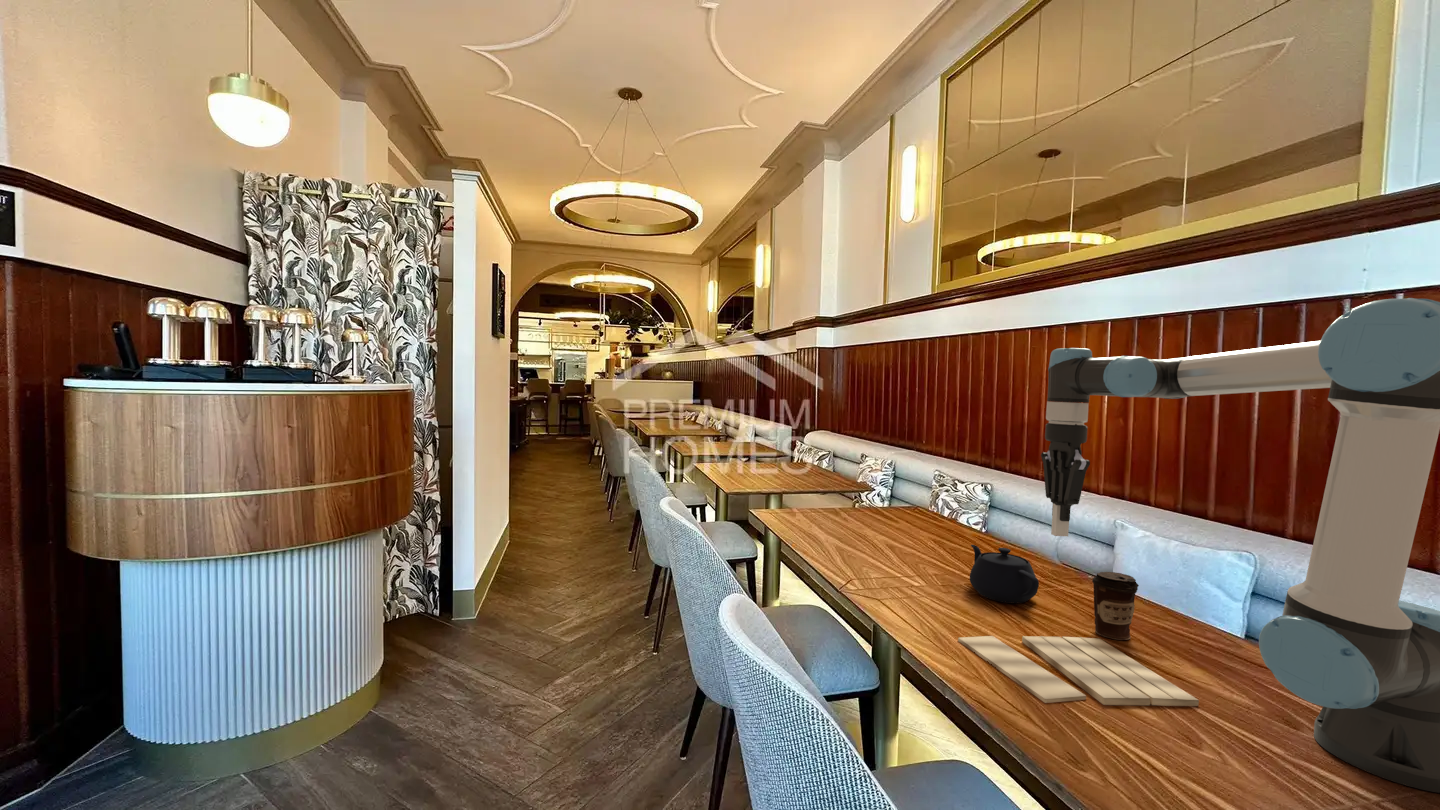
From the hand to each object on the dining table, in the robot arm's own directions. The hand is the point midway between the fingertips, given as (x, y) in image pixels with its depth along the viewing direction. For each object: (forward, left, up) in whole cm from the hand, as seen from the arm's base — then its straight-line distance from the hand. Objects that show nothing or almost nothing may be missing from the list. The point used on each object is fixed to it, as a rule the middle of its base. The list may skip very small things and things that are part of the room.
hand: (1059, 535), depth 122 cm
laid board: (-14, +4, -22) cm, 26 cm away
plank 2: (-14, -4, -22) cm, 26 cm away
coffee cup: (+2, -14, -22) cm, 27 cm away
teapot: (+26, -2, -22) cm, 35 cm away
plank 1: (-13, +16, -23) cm, 30 cm away
